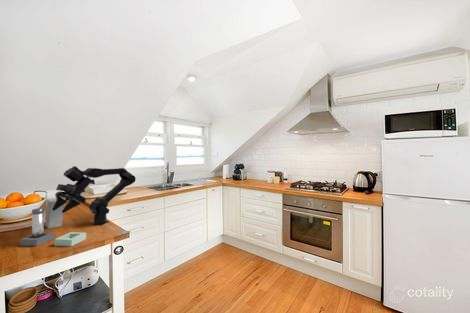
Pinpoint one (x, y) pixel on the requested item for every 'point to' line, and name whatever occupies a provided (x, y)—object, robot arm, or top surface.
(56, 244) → the sage socket
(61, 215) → the skincare box
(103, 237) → the top surface
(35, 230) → the steel peg
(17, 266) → the top surface
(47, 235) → the charcoal socket
